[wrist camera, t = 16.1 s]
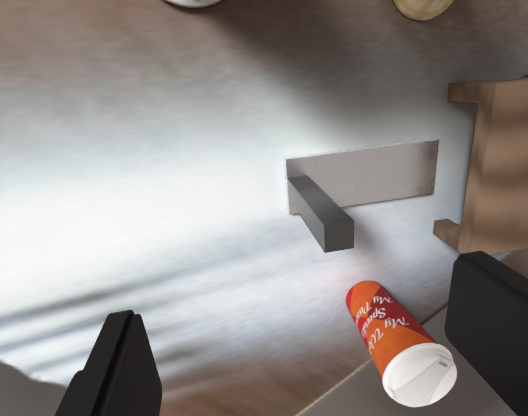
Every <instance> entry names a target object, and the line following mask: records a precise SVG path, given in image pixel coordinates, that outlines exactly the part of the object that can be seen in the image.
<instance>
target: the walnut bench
mask: <svg viewBox="0 0 528 416" xmlns="http://www.w3.org/2000/svg"><path fill="white" fill-rule="evenodd" d="M447 101H456V102H469V103H479V104H478V111H477V118H476V125H475V132H474V139H473V146H472V153H471V160H470V167H469V174H468V181H467V188H466V195H465V202H464V209H463V216H462V223H461V226H459V225H458V224H456V223H454V222H453V221H451V220H449V219H443V220H437V221H434V230H433V234H434V235H436V236H437V237H439V238H440V239H442V240H443V241H445V242H446V243H447V244H449V245H450V246H452V247H453V248H455V249H456V250H458V251H459V252H461V253H462V254H463V253H469V252H475V251H483V252H485V253H487V254H488V255H491V254H497V253H503V252H508V251H514V250H520V249H526V248H528V75H525V78H524V79H515V80H506V81H472V82H456V83H449V91H448V100H447Z"/></svg>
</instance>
